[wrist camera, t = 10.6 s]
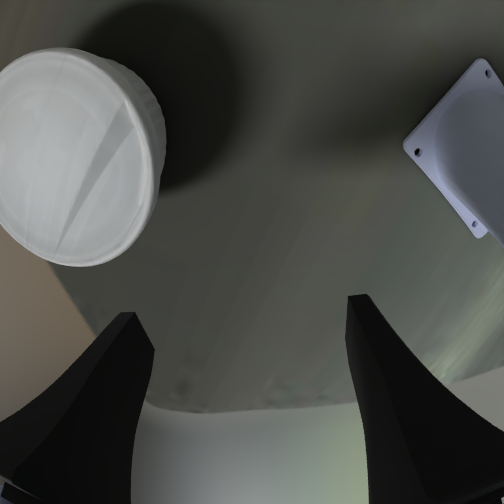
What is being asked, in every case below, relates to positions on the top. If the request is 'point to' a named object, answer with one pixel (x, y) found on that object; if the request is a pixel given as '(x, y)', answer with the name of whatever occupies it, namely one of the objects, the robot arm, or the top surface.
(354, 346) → the robot arm
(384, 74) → the top surface
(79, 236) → the ramekin
